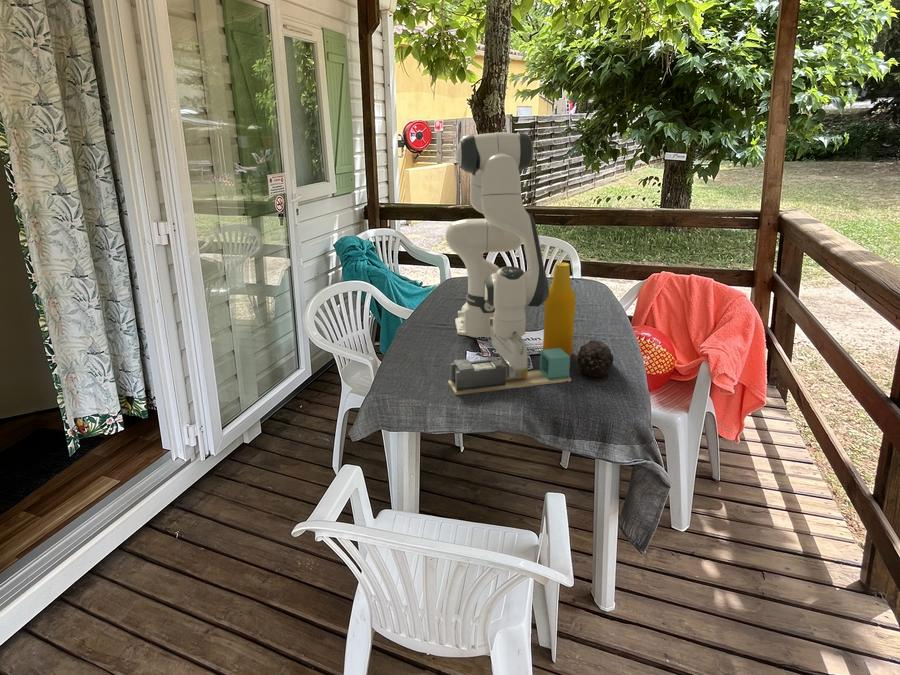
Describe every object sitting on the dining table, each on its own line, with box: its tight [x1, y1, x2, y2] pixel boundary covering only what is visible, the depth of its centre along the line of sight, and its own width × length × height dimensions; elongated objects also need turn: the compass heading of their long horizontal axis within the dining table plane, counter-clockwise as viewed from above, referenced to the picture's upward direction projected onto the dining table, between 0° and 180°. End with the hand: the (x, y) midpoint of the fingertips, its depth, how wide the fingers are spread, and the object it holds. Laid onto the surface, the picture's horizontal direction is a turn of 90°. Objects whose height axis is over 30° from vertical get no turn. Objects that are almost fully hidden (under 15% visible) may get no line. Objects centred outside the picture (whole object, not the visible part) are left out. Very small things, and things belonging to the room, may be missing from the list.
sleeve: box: [449, 355, 506, 391], centre depth 176 cm, size 7×14×6 cm, turn 104°
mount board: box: [447, 369, 572, 396], centre depth 179 cm, size 8×34×1 cm, turn 104°
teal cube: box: [539, 348, 571, 380], centre depth 181 cm, size 7×6×7 cm
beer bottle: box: [542, 262, 576, 357], centre depth 193 cm, size 9×9×29 cm
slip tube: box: [455, 360, 529, 380], centre depth 176 cm, size 4×20×4 cm, turn 104°
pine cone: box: [576, 339, 614, 382], centre depth 185 cm, size 10×18×10 cm, turn 173°
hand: (508, 372), depth 178 cm, fingers closed on slip tube, 4 cm apart
